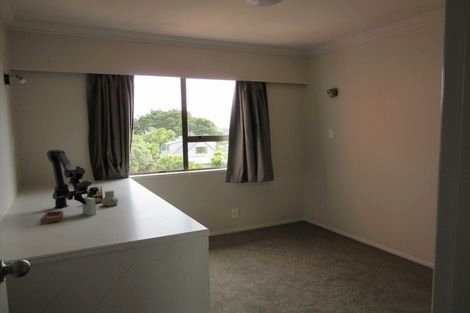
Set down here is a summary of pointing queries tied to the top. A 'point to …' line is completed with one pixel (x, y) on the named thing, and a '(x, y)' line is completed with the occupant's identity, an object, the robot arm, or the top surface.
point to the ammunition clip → (98, 195)
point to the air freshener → (109, 198)
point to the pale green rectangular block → (89, 206)
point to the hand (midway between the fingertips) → (89, 203)
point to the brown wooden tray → (52, 217)
